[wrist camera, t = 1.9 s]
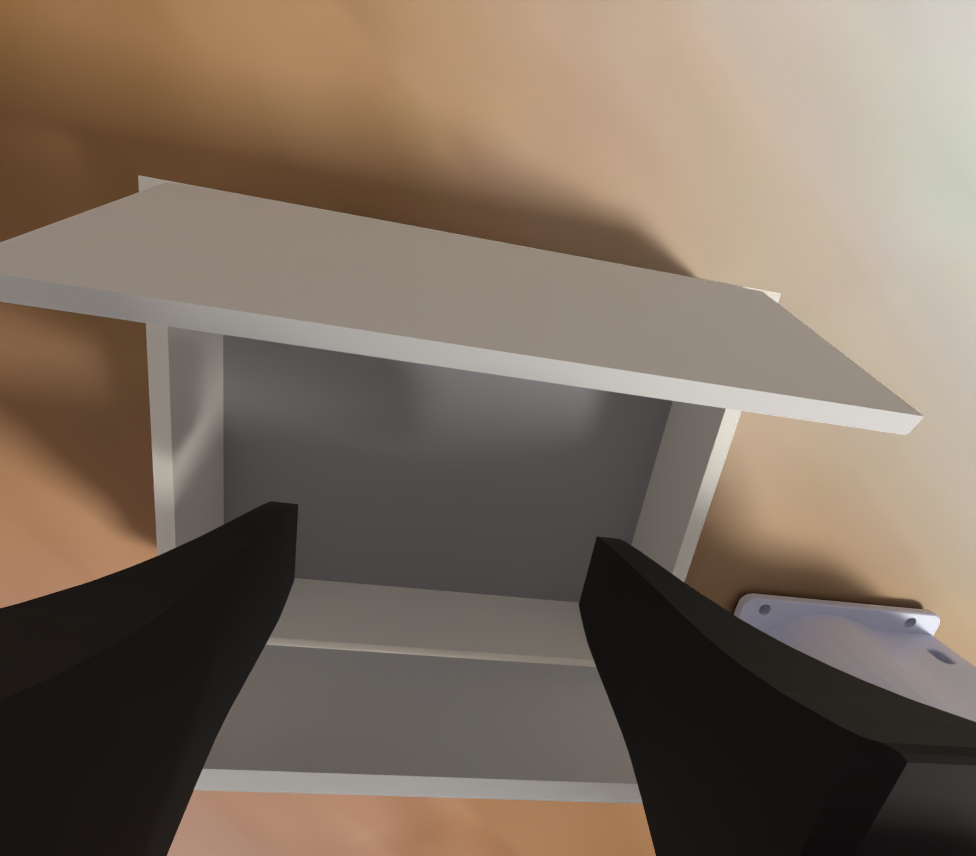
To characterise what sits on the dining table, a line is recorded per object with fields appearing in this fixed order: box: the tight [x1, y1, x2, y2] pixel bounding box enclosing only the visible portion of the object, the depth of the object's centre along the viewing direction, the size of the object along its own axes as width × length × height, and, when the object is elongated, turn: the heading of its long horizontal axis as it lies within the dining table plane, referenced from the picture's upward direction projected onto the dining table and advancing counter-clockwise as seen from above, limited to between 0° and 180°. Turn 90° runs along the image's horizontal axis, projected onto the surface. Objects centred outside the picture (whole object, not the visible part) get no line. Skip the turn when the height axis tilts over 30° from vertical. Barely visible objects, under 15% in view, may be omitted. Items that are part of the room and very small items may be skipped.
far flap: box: [194, 644, 643, 804], centre depth 12 cm, size 6×14×1 cm
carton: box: [138, 175, 781, 667], centre depth 15 cm, size 16×13×4 cm
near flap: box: [0, 182, 924, 435], centre depth 9 cm, size 6×14×1 cm
